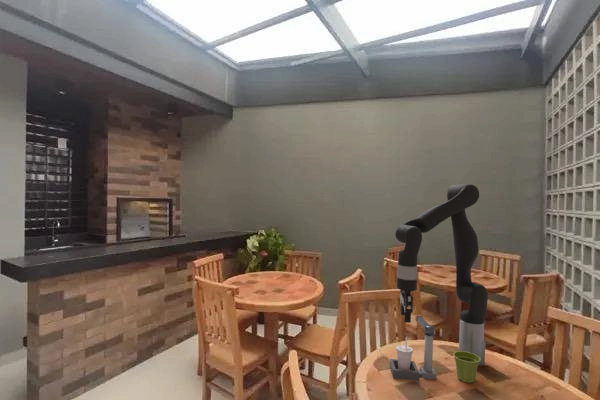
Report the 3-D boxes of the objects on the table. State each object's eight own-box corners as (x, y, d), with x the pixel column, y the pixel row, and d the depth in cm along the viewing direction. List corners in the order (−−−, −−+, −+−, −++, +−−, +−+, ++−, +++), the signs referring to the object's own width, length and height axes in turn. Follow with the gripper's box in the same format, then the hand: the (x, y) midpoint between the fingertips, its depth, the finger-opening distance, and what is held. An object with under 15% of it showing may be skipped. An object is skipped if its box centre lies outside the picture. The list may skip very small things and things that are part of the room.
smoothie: (413, 378, 131) (414, 341, 131) (395, 376, 133) (396, 339, 133) (411, 370, 138) (412, 335, 138) (394, 368, 139) (395, 333, 139)
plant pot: (453, 382, 129) (454, 359, 129) (451, 371, 138) (452, 349, 138) (481, 387, 126) (482, 364, 126) (477, 375, 135) (478, 353, 135)
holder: (431, 370, 138) (432, 330, 138) (437, 382, 129) (439, 340, 129) (389, 366, 140) (391, 327, 140) (392, 378, 131) (394, 336, 131)
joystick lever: (435, 336, 132) (435, 328, 132) (425, 335, 132) (426, 327, 132) (422, 321, 148) (422, 314, 148) (413, 320, 148) (413, 313, 148)
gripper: (420, 281, 128) (419, 325, 128) (413, 273, 142) (412, 313, 142) (399, 280, 129) (398, 324, 129) (394, 272, 143) (393, 311, 143)
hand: (405, 318), depth 135 cm, fingers open, 8 cm apart
